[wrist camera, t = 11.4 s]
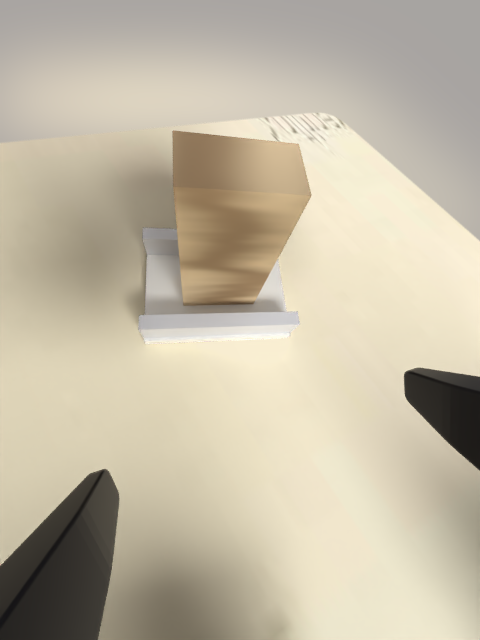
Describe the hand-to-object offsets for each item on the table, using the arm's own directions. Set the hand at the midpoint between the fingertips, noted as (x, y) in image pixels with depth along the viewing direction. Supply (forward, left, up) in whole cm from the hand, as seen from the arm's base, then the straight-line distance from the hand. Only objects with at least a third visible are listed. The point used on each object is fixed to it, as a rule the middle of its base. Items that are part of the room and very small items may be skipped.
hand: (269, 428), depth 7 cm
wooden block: (+8, +6, -11) cm, 15 cm away
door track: (+8, +6, -11) cm, 15 cm away
